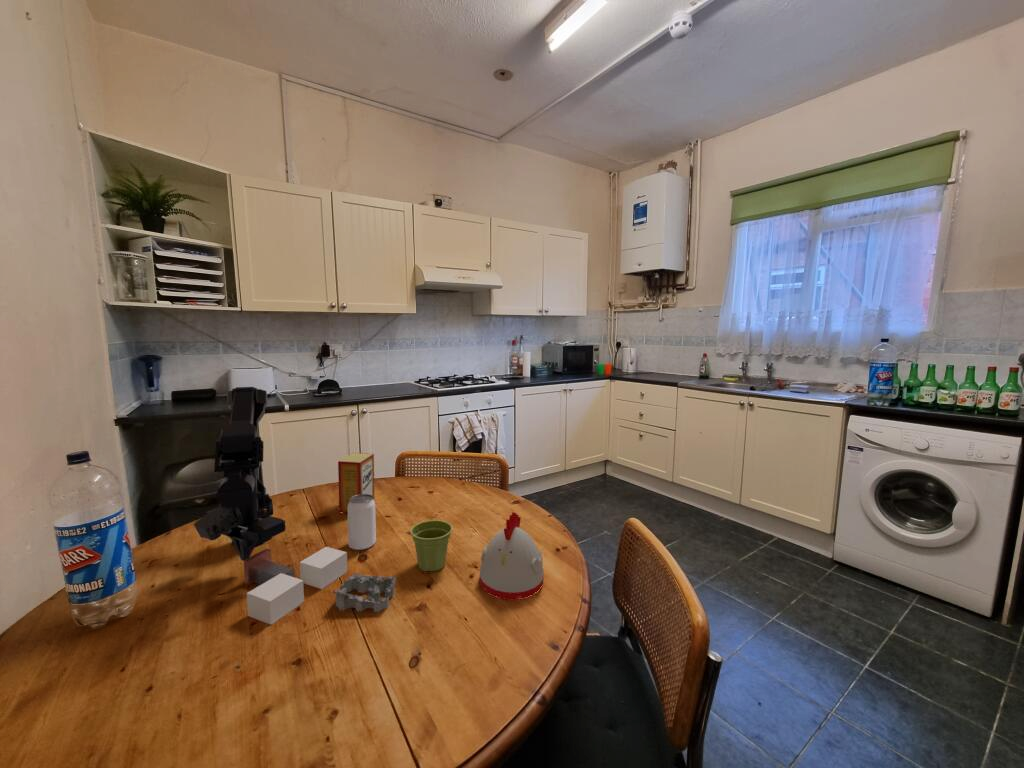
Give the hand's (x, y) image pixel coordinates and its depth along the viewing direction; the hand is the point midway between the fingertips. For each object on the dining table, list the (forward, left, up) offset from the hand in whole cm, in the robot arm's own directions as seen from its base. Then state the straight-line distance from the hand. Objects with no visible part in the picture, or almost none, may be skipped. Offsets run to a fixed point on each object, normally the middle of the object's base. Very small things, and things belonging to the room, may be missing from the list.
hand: (245, 559), depth 88 cm
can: (+14, +20, -3) cm, 25 cm away
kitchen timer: (+54, +21, -3) cm, 58 cm away
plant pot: (+35, +19, -3) cm, 40 cm away
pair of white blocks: (+17, 0, -3) cm, 17 cm away
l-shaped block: (+9, 0, -3) cm, 9 cm away
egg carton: (+30, +3, -4) cm, 30 cm away
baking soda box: (-3, +37, -3) cm, 37 cm away
